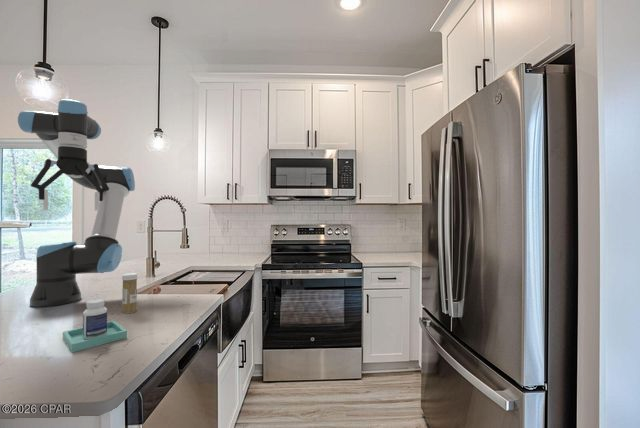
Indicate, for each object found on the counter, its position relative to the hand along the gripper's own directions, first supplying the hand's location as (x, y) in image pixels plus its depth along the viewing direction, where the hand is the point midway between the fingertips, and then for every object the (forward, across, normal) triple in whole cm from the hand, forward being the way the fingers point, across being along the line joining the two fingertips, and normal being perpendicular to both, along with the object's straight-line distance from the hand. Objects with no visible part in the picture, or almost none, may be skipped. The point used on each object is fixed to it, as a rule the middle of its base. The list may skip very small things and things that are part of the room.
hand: (72, 210), depth 100 cm
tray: (+35, 0, -28) cm, 45 cm away
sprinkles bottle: (+36, +14, -10) cm, 40 cm away
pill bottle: (+35, 0, -28) cm, 45 cm away
